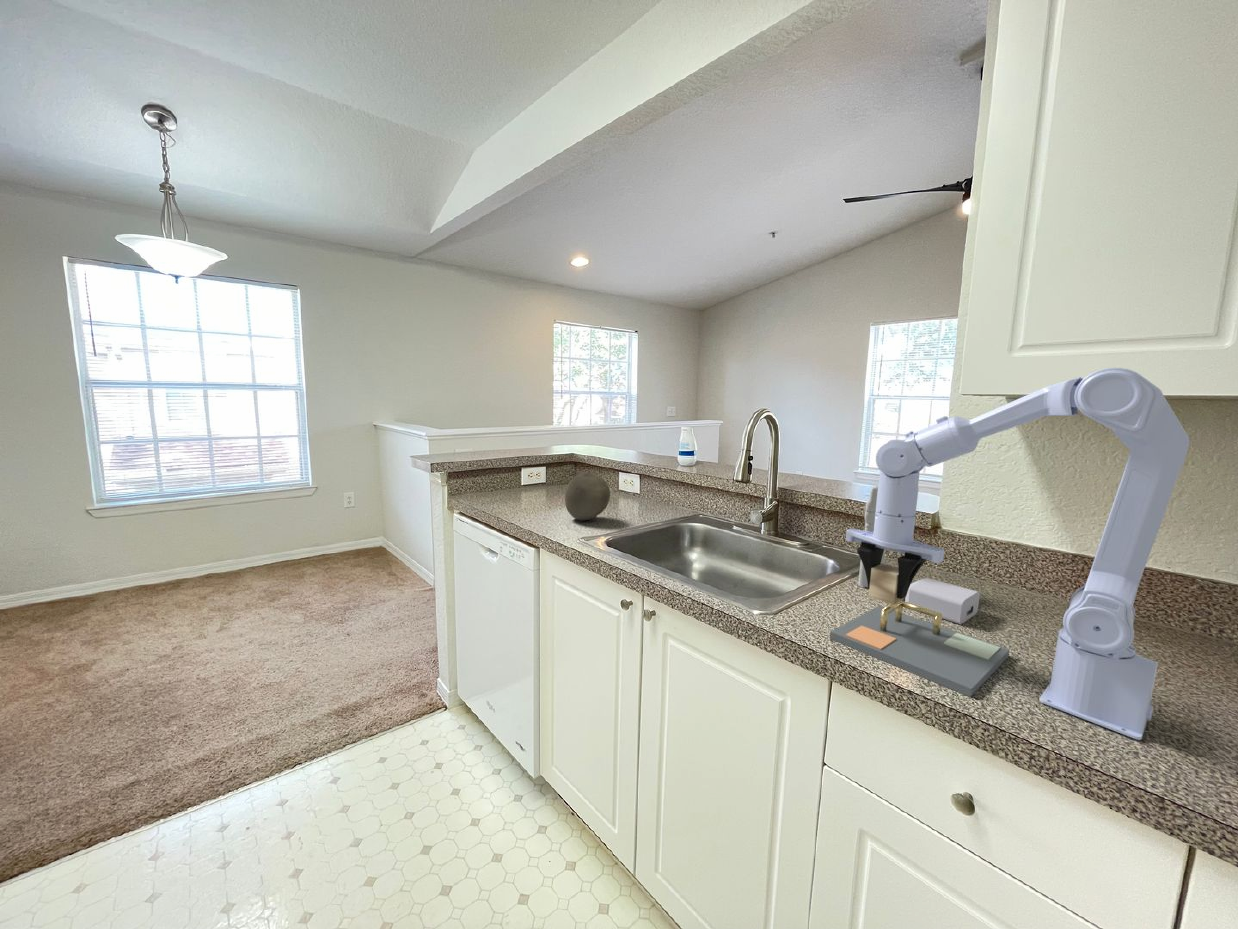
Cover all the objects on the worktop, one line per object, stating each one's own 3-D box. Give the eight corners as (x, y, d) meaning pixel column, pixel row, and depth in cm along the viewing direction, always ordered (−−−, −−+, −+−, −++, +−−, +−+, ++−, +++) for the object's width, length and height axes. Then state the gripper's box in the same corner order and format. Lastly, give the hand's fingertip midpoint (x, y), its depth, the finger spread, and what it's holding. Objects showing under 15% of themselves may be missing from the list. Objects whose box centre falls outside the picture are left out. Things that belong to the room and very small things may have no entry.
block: (904, 599, 82) (907, 570, 81) (893, 604, 79) (896, 575, 79) (879, 591, 85) (882, 563, 84) (868, 596, 82) (871, 568, 82)
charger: (895, 588, 106) (977, 614, 94) (874, 598, 100) (959, 626, 88) (897, 567, 105) (980, 590, 93) (877, 576, 99) (962, 601, 88)
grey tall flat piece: (869, 591, 103) (879, 488, 100) (850, 585, 106) (859, 485, 103) (890, 580, 110) (900, 483, 107) (871, 574, 113) (881, 480, 110)
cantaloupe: (567, 526, 148) (568, 477, 146) (561, 515, 161) (562, 470, 159) (613, 525, 151) (614, 476, 149) (603, 514, 165) (604, 470, 162)
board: (1008, 656, 78) (1009, 648, 78) (970, 697, 67) (971, 687, 66) (878, 611, 93) (879, 604, 93) (829, 638, 82) (830, 630, 82)
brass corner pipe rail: (940, 634, 82) (943, 612, 81) (924, 646, 78) (926, 624, 77) (896, 619, 87) (898, 598, 87) (878, 629, 83) (880, 608, 83)
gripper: (955, 519, 77) (945, 601, 79) (862, 502, 88) (855, 574, 90) (938, 525, 73) (927, 612, 75) (842, 506, 84) (835, 582, 86)
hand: (886, 592), depth 82 cm, fingers closed on block, 4 cm apart
